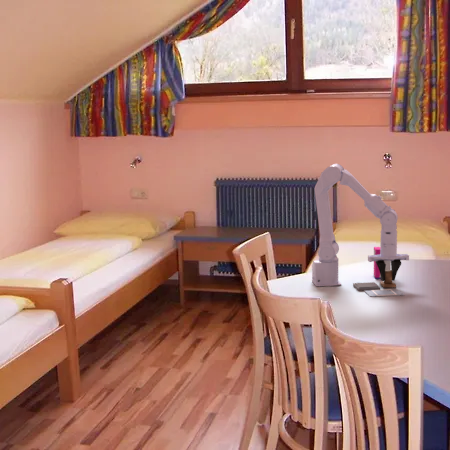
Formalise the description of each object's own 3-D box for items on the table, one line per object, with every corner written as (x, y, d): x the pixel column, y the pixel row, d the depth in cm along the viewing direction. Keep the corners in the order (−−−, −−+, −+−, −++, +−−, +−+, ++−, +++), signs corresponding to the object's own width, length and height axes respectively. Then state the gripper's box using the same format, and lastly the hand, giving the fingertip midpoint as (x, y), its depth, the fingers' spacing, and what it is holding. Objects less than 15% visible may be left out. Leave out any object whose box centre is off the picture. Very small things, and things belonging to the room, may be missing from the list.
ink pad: (358, 291, 245) (358, 287, 245) (353, 286, 252) (353, 282, 252) (380, 290, 246) (380, 286, 246) (374, 285, 253) (374, 281, 252)
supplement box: (388, 275, 266) (389, 246, 265) (390, 279, 261) (391, 249, 259) (373, 275, 267) (373, 246, 265) (374, 279, 261) (375, 249, 259)
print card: (370, 296, 237) (370, 295, 237) (364, 291, 244) (364, 290, 244) (404, 295, 238) (404, 294, 238) (397, 290, 245) (397, 289, 245)
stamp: (383, 288, 248) (383, 272, 247) (379, 285, 252) (380, 269, 251) (395, 288, 248) (396, 271, 247) (392, 285, 252) (392, 269, 251)
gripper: (371, 246, 243) (371, 283, 245) (412, 244, 244) (411, 282, 246) (366, 242, 250) (365, 279, 252) (405, 241, 251) (404, 277, 253)
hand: (388, 280), depth 250 cm, fingers closed on stamp, 3 cm apart
